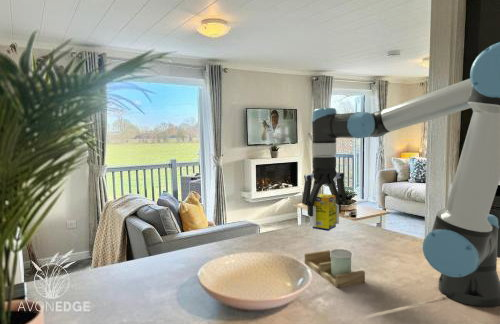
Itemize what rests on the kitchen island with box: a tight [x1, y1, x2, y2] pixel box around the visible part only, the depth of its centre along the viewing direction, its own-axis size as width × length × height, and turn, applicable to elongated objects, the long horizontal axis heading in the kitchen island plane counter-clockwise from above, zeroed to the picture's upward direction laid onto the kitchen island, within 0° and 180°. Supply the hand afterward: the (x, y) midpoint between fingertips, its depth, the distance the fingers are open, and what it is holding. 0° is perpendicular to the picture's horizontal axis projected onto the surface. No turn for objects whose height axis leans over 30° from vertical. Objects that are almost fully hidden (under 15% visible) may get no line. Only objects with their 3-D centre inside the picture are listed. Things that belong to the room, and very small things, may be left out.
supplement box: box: [312, 193, 337, 232], centre depth 111 cm, size 6×6×11 cm
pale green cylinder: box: [330, 248, 352, 279], centre depth 103 cm, size 6×6×8 cm
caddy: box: [304, 249, 366, 289], centre depth 108 cm, size 20×10×4 cm, turn 18°
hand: (324, 224), depth 111 cm, fingers closed on supplement box, 8 cm apart
